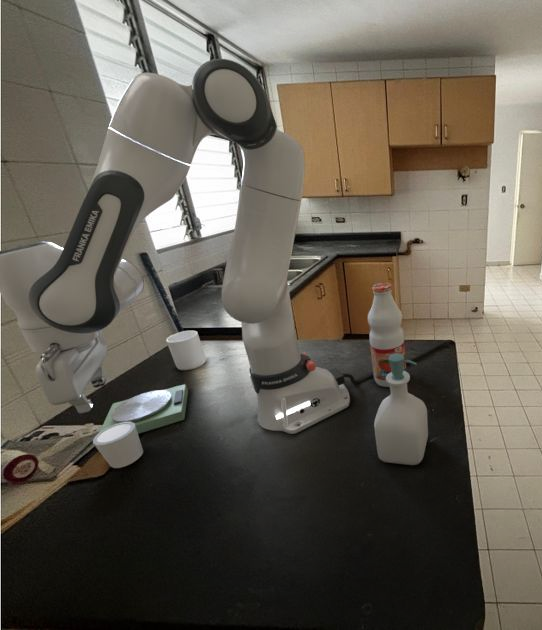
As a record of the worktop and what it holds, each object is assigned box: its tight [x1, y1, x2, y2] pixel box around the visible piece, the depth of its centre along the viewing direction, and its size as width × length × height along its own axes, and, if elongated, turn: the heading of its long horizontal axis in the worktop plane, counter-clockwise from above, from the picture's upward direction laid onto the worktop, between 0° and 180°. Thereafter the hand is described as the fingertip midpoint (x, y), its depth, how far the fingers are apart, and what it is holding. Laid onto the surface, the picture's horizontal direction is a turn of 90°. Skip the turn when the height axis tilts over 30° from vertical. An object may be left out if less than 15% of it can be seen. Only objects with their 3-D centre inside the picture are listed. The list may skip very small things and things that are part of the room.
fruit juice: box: [367, 282, 408, 388], centre depth 90 cm, size 9×9×28 cm
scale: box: [98, 383, 189, 435], centre depth 85 cm, size 16×14×3 cm
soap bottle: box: [373, 354, 429, 466], centre depth 66 cm, size 10×10×23 cm
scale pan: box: [111, 389, 172, 423], centre depth 84 cm, size 12×12×1 cm
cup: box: [165, 330, 207, 371], centre depth 107 cm, size 8×12×10 cm
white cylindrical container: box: [92, 422, 144, 469], centre depth 71 cm, size 7×7×7 cm
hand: (93, 397), depth 66 cm, fingers open, 8 cm apart
